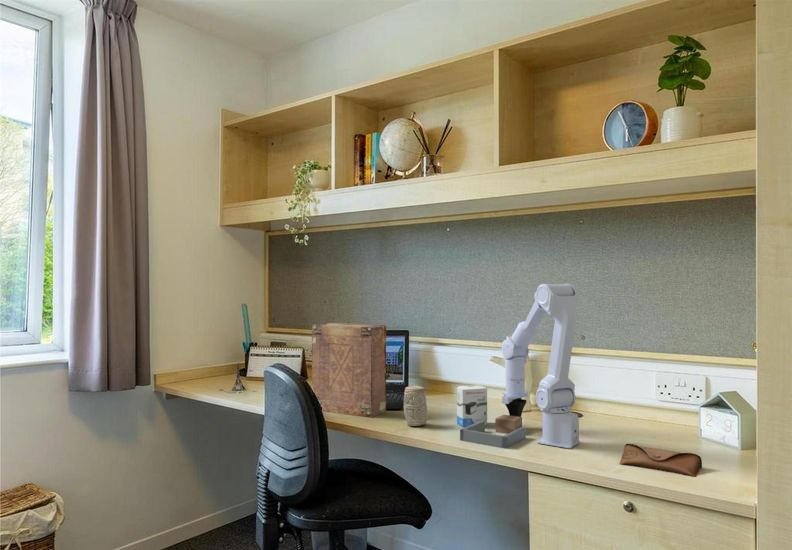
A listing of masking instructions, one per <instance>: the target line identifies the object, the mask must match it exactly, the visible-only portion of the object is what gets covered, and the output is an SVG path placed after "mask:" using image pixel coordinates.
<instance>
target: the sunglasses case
mask: <svg viewBox="0 0 792 550" xmlns="http://www.w3.org/2000/svg"><path fill="white" fill-rule="evenodd" d="M623 447H624V448H623V452H622V455H621V459H620V461H619V463H618V465H620V466H629V467H636V468H642V469H649V470H654V471H660V472H665V473H671V474H679V475H683V476H687V477H694V478H696V477H698V476H697V475H698V474H699V472H700V471H701V469H703V462H702V461H703V460H702V457H701V456H700V455H699V454H696V453H692V452H680V451H674V450H667V449H662V448H656V447H647V446H642V445H641V446H640V445H637V444H633V443H625V445H624V446H623Z"/></svg>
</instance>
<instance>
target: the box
mask: <svg viewBox="0 0 792 550" xmlns="http://www.w3.org/2000/svg"><path fill="white" fill-rule="evenodd" d="M485 428H486V425H485V421H480V422H477V423H475V424H472V425H470V426H467V427H462V428H460V429H459V441H463V442H468V443H469V442H470V443H474V444H479V445H486V446H489V447H490V446H491V447H497V448H503V449H507V448H509V447H511V446H513V445H515V444H517V443H518V442H520V441H522V440H524V439H525V438H526V427H525V426H522V427H521V428H519V429H517V430H514V431H512V432H510V433H508V434H506V433H505V435H501V434H496V433H491V432H490V433H489V432H486V429H485Z"/></svg>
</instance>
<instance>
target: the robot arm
mask: <svg viewBox="0 0 792 550" xmlns="http://www.w3.org/2000/svg"><path fill="white" fill-rule="evenodd" d="M533 295H534V303H533V305H532V307H531V309H530V310H529V313H528V315H527V317H526V320H524V321H520V322H519V323H518V324H517V326H516V328H515V330H514V332H513V333H512V335H511V337H508V338H507V339H504V340H503V341H502V344H501V354H502V356H503V358H504V359H505V391H503V392H502V395H503V396H502V397H501V404H503V405H505V406H506V409H507V411H508V414H509V415H510V416H518V417H522V415H523V410H524V409H525V406H526V404H527V399H522V398H525V397H529V390H528V389H526V377H525V376H526V371H525V366H526V365H525V364H527V357H528V356H529V353H530V349H529V346H530V345H531V343H532V341H533V339H534V338H535V337H536V335H537V332H538V330H537V326H538V325H539V323H540V322H541V321H542V320H543V319H544V317H545V316H546V314H548V315H549V316H551V317H552V318H553V319H554V324H553V325H554V326H553V333H552V340H551V341H552V342H551V347H550V355H549V363H548V369H547V375H546V376H545V377H543V378H542V379H541V380H540V381H539V384H538V389H537V390H536V392H535V401H536V405H537V407H538V408H539V410H540V411H542V413H541V414H542V419H541V420H542V422H541V423H542V425H541V427H542V428H541V430H542V438H540V439H539V440H537V441H536V443H537V444H542V445H546V446H552V447H558V448H559V447H560V448H564V449H572V448H573V447H575V446H576V445H578V444H579V443H580V420H579V415H578V414H577V413H574V412H571V411H572V407H573V406H574V405H575V403H576V394H575V393H576V392H575V387H576V386H575V383H574V382H573V381H572V379H570V378H569V373H570V365H571V358H572V352H573V351H572V350H573V344H574V337H575V331H576V324H577V323H576V322H577V306H578V298H579V293H578V291H576V288H575V287H574V286H573V285H572V284H571V283H561V284H559V283H557V284H555V283H553V284H552V283H550V284H547V283H541V284H540V285H538V287H537V289H536V291H535V292H534V294H533Z"/></svg>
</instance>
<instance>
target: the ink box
mask: <svg viewBox="0 0 792 550" xmlns="http://www.w3.org/2000/svg"><path fill="white" fill-rule="evenodd" d="M480 421H485V426H488V388H487V387H485V386H483V385H459V386H458V387H456V424H458V426H461V427H462V428H465V427H467V426H470V425H472V424H475V423H477V422H480Z"/></svg>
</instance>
